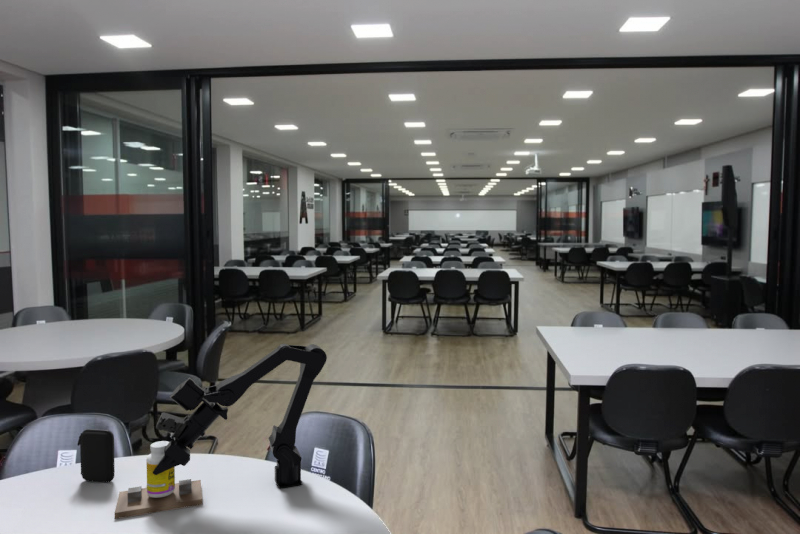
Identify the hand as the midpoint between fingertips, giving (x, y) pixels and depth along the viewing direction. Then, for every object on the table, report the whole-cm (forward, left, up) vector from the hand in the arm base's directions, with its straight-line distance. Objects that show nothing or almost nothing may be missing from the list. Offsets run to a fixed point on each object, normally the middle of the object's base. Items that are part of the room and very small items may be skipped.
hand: (155, 468), depth 140 cm
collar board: (-1, 0, -9) cm, 9 cm away
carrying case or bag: (+16, -19, -9) cm, 26 cm away
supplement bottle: (-1, 0, -7) cm, 7 cm away
